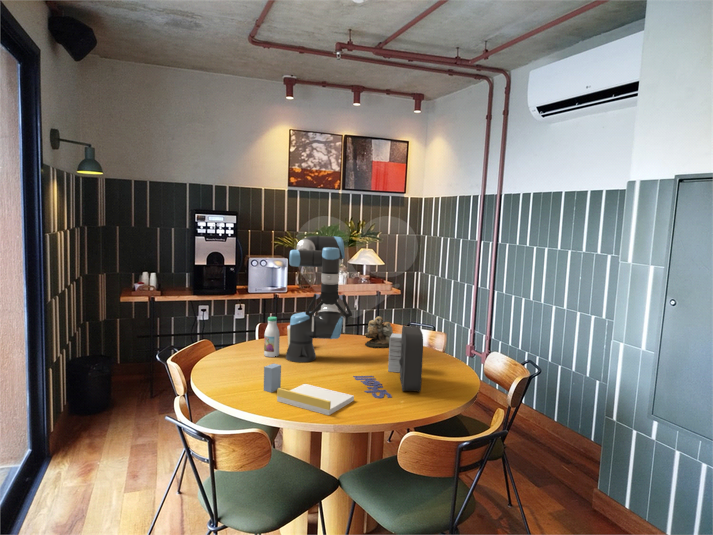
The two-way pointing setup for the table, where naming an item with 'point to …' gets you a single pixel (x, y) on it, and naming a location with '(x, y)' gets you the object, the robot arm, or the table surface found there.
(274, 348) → the milk bottle
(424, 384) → the table surface
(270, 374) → the carton
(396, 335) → the supplement box
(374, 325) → the owl figurine
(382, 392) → the signage
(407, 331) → the speaker
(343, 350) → the table surface
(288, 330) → the coffee cup
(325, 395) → the display plank
